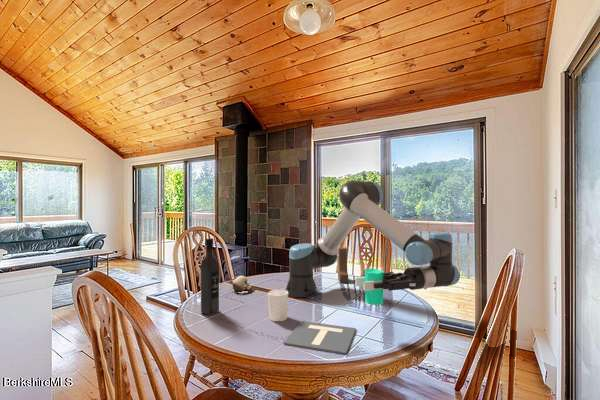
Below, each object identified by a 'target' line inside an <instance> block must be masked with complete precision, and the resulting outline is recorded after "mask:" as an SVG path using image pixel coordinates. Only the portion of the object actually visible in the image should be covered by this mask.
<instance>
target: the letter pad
mask: <svg viewBox="0 0 600 400" xmlns="http://www.w3.org/2000/svg"><path fill="white" fill-rule="evenodd" d="M356 331H357V328H356V327H349V326H343V325H334V324H327V323H320V322H313V321H305V320H301V322H300V323H299V324H298V325H297V326H296V327H295V328H294V329H293V331H292V332H291V333H290V334H289V335H288V337H287V338H286V339H285V340H284V341H283V345H284V344H285V345H286V346H290V345H291V347H298V348H304V349H309V350H310V349H311V350H317V351H321V352H329V353H334V354H341V355H347V353H348V350H349V349H350V346H351V343H352V341H353V339H354V335H355V333H356Z"/></svg>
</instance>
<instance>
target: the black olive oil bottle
mask: <svg viewBox="0 0 600 400" xmlns="http://www.w3.org/2000/svg"><path fill="white" fill-rule="evenodd" d="M205 249H206V250H205V252H206V253H205V257H204V258H203V259H202V260H201V262H200V313H201V312H202V313H201V314H203V313H205V315H207V314H212V315H213V313H214V314H216V313H218V312H219V311H220V286H219V285H220V280H219V279H220V276H219V275H220V272H219V271H220V270H219V269H220V267H219V266H220V265H219V260H218V258H217V257H216V256H214V238H206V239H205ZM217 311H218V312H217ZM215 312H216V313H215Z"/></svg>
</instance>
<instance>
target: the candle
mask: <svg viewBox="0 0 600 400" xmlns="http://www.w3.org/2000/svg"><path fill="white" fill-rule="evenodd" d="M383 273H384V271H383V270H380V269H377V268H367V269H365V270H364V277H365V282H366V281H381V280H382V283H383ZM364 296H365V298H364V301H365V303H366V304H367V305H372V306H379V305H383V304H384V289H383V288H382V289H376V290H367V291H365V292H364Z"/></svg>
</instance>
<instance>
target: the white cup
mask: <svg viewBox="0 0 600 400" xmlns="http://www.w3.org/2000/svg"><path fill="white" fill-rule="evenodd" d="M267 300H268V301H267V303H268V312H269V313H268V315H269V320H270V321H272V322H276V321H277V322H279V321H280V322H283V321H284V322H285V321H286V320H287V319H288V311H289V308H288V307H289V306H288V305H289V295H288V291H286V289H272V290H269V291H268V292H267ZM277 322H276V323H277Z"/></svg>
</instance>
